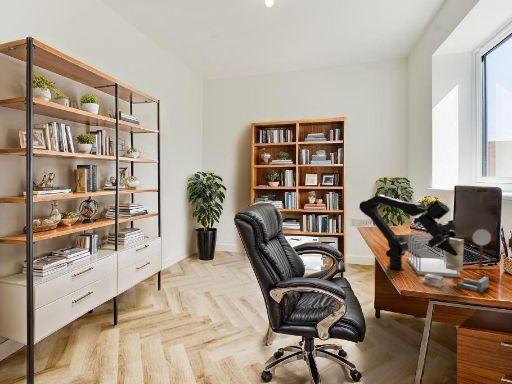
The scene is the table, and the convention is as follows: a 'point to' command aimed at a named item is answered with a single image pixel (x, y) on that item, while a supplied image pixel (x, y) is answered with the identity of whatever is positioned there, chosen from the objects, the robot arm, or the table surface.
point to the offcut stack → (433, 280)
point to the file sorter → (428, 261)
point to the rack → (480, 287)
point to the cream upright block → (452, 260)
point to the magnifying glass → (481, 241)
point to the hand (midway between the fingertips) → (458, 254)
